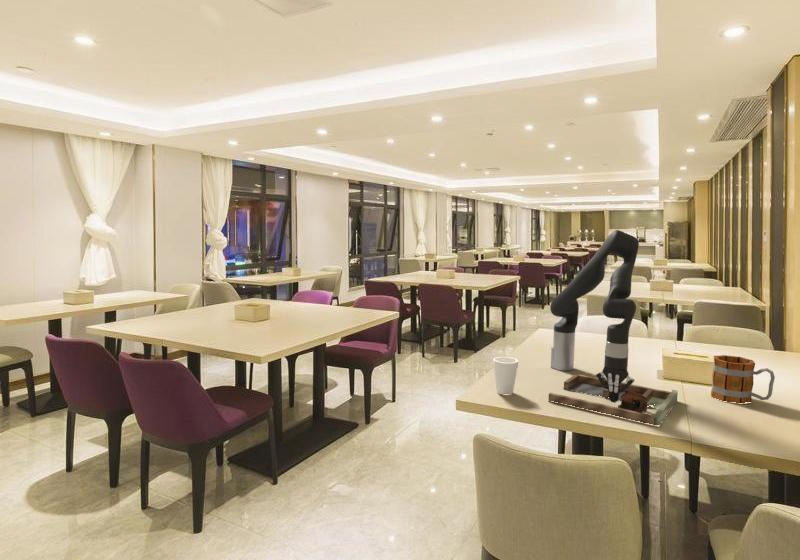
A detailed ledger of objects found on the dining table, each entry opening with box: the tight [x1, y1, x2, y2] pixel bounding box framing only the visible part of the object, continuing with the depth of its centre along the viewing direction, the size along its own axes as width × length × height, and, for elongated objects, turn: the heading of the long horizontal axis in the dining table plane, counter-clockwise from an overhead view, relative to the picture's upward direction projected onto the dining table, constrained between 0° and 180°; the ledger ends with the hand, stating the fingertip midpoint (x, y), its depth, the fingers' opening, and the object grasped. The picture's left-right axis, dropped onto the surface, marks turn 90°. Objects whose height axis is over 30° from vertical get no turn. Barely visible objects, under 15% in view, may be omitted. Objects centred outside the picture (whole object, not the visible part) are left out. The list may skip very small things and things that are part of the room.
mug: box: [710, 354, 776, 403], centre depth 182 cm, size 20×14×15 cm
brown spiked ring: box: [617, 391, 648, 413], centre depth 169 cm, size 12×10×8 cm
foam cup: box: [492, 356, 519, 395], centre depth 189 cm, size 10×9×13 cm
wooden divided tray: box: [548, 374, 678, 426], centre depth 180 cm, size 38×31×4 cm
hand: (613, 401), depth 174 cm, fingers closed
